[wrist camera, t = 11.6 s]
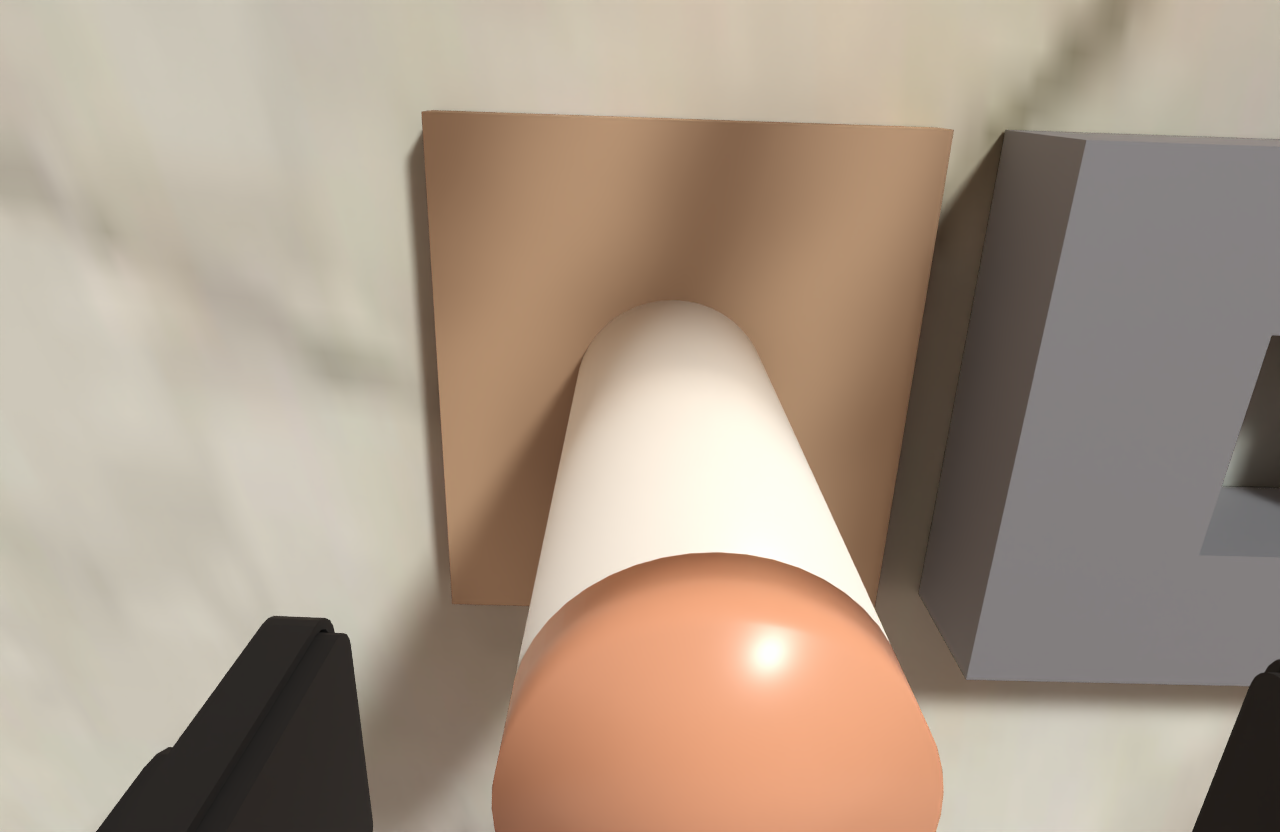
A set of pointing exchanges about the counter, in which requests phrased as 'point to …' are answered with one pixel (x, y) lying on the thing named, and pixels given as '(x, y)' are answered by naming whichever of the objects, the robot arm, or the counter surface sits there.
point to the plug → (701, 616)
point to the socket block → (1113, 418)
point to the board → (669, 296)
